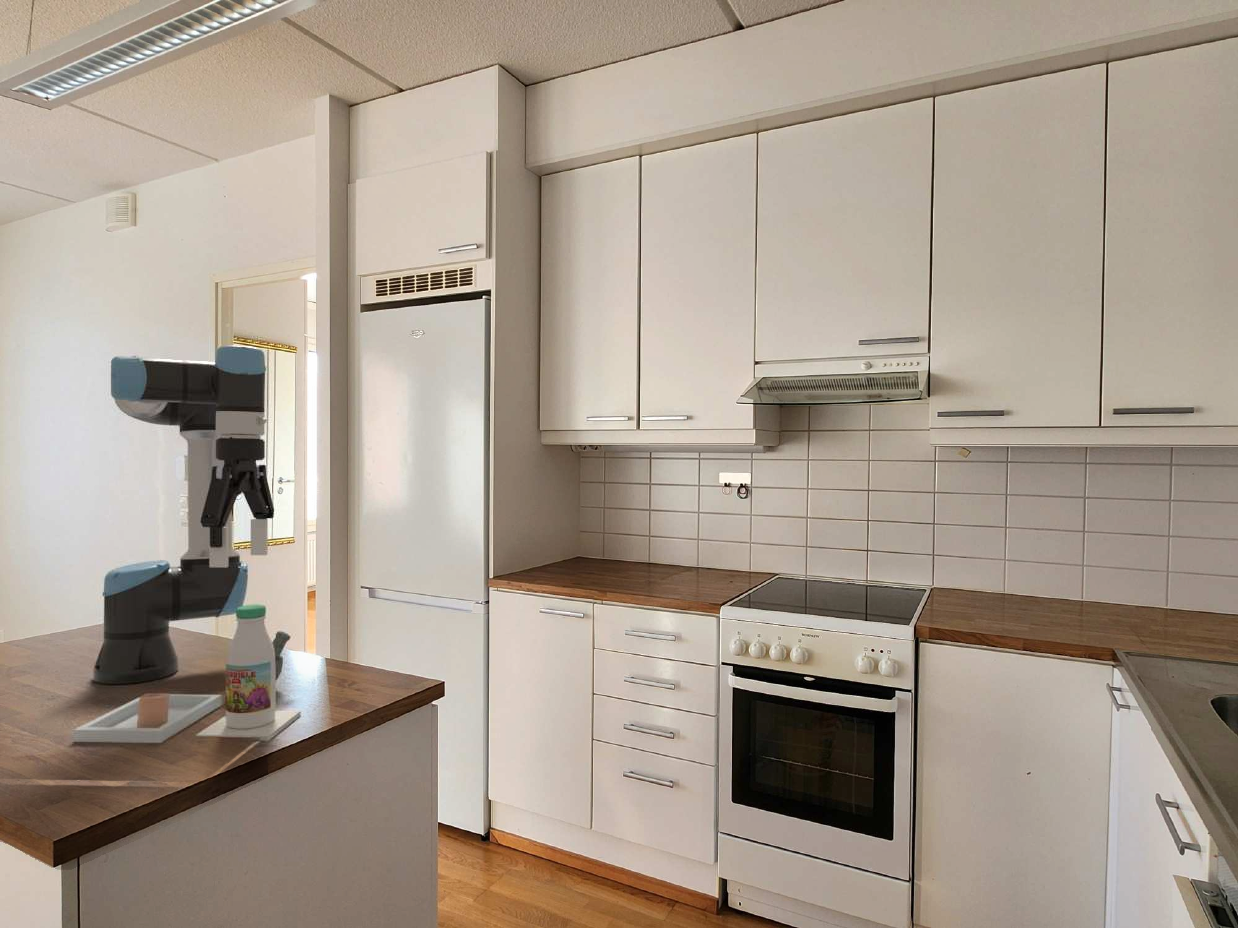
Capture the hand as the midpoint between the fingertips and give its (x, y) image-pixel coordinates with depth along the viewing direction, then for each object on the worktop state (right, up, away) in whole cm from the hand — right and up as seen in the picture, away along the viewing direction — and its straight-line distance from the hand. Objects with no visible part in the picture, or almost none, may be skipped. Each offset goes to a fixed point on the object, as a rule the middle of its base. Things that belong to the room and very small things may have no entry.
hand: (240, 560), depth 129 cm
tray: (-15, -28, 0) cm, 32 cm away
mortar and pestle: (-5, -29, +17) cm, 34 cm away
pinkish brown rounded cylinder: (-14, -28, -2) cm, 31 cm away
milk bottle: (+2, -28, 0) cm, 28 cm away
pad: (+2, -29, 0) cm, 29 cm away
